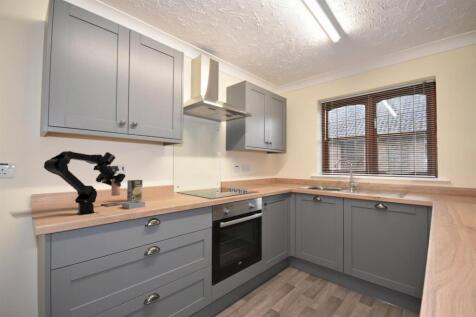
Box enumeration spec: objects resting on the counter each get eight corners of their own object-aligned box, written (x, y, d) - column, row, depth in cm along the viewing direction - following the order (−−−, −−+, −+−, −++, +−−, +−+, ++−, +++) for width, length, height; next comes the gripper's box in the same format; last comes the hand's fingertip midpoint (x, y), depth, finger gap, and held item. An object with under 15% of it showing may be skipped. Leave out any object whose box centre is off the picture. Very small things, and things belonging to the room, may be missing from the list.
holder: (129, 210, 134) (129, 204, 134) (122, 208, 141) (122, 202, 141) (145, 208, 142) (145, 201, 142) (137, 206, 148) (137, 200, 148)
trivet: (107, 208, 143) (107, 206, 143) (100, 206, 150) (100, 204, 150) (126, 205, 152) (126, 203, 152) (119, 203, 159) (119, 201, 159)
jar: (118, 195, 149) (118, 176, 149) (109, 195, 148) (109, 176, 148) (121, 194, 154) (121, 175, 155) (113, 194, 153) (113, 176, 154)
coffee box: (131, 201, 168) (132, 180, 169) (126, 201, 172) (126, 180, 172) (142, 200, 176) (142, 179, 177) (137, 199, 180) (137, 179, 180)
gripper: (123, 161, 146) (134, 177, 157) (99, 161, 150) (111, 177, 160) (114, 173, 138) (126, 189, 149) (89, 173, 142) (102, 189, 152)
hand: (117, 186), depth 153 cm, fingers closed on jar, 5 cm apart
